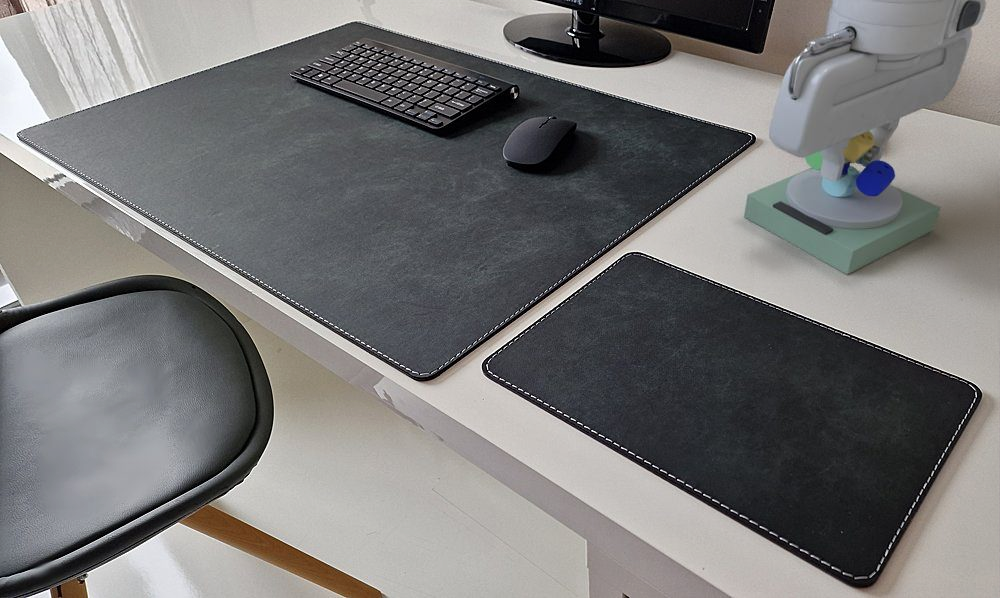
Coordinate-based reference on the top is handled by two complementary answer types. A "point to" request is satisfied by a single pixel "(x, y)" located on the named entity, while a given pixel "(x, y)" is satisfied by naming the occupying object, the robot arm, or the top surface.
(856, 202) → the scale
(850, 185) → the dice
